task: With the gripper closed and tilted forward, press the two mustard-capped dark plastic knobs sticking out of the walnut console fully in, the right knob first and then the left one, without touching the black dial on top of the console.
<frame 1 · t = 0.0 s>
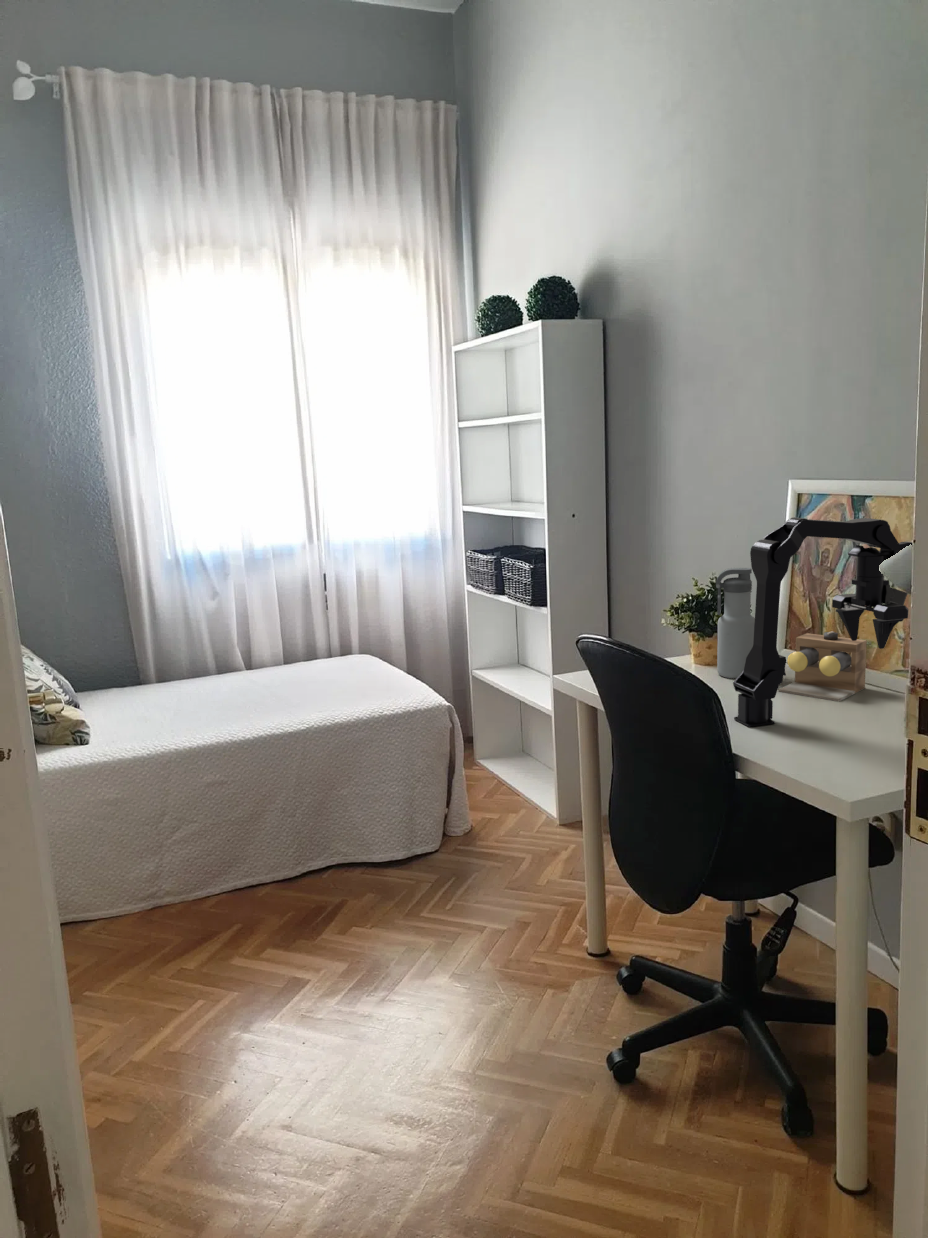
hand: (867, 644, 214), 15 cm above the table, fingers open, 9 cm apart
water bottle: (735, 675, 251), on the table
console: (829, 686, 236), on the table
knob right: (836, 663, 228), point 8 cm above the table, slide at 0.0 cm
knob left: (804, 658, 233), point 8 cm above the table, slide at 0.0 cm
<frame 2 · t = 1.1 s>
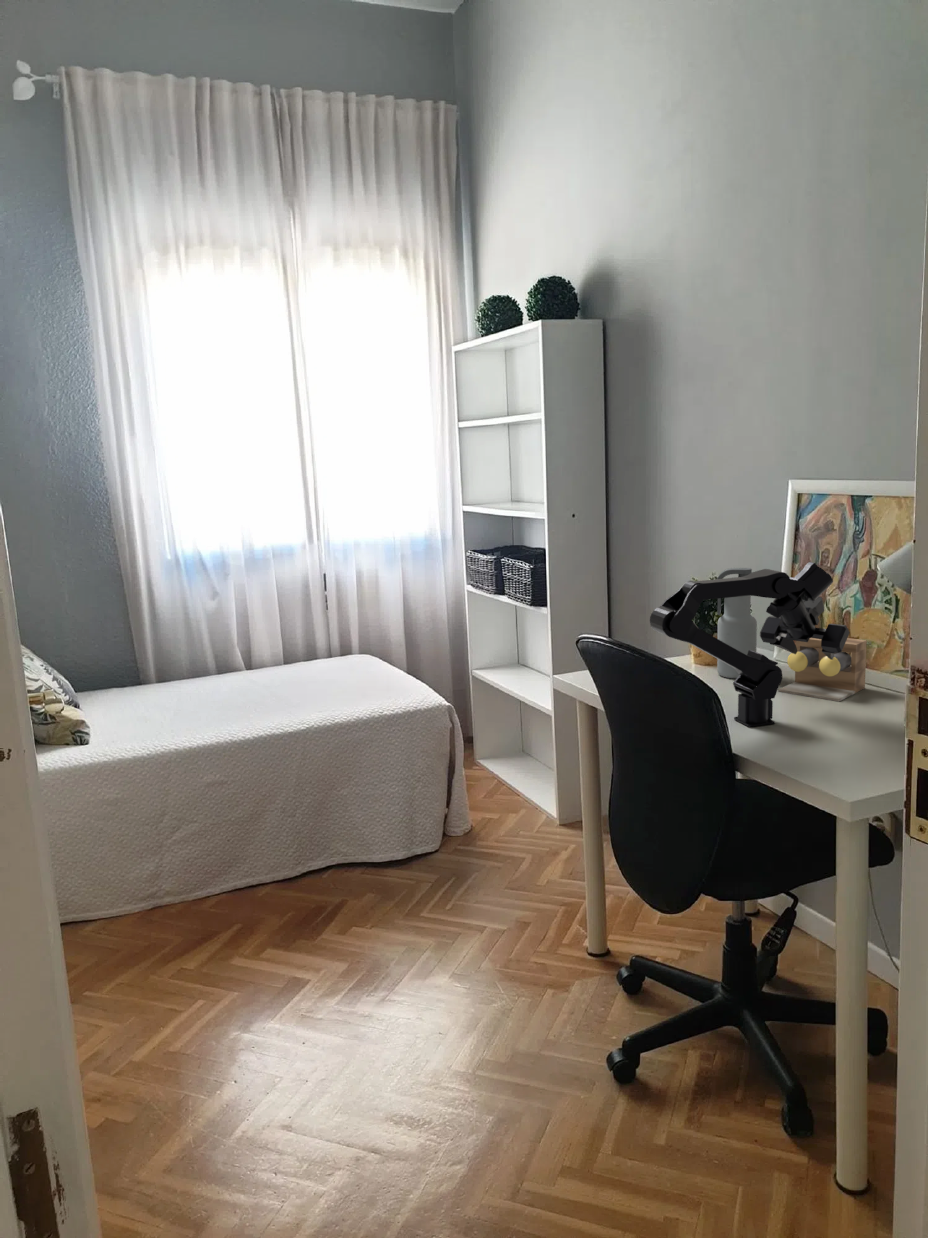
hand: (814, 655, 219), 12 cm above the table, fingers open, 8 cm apart
nothing on the table moved.
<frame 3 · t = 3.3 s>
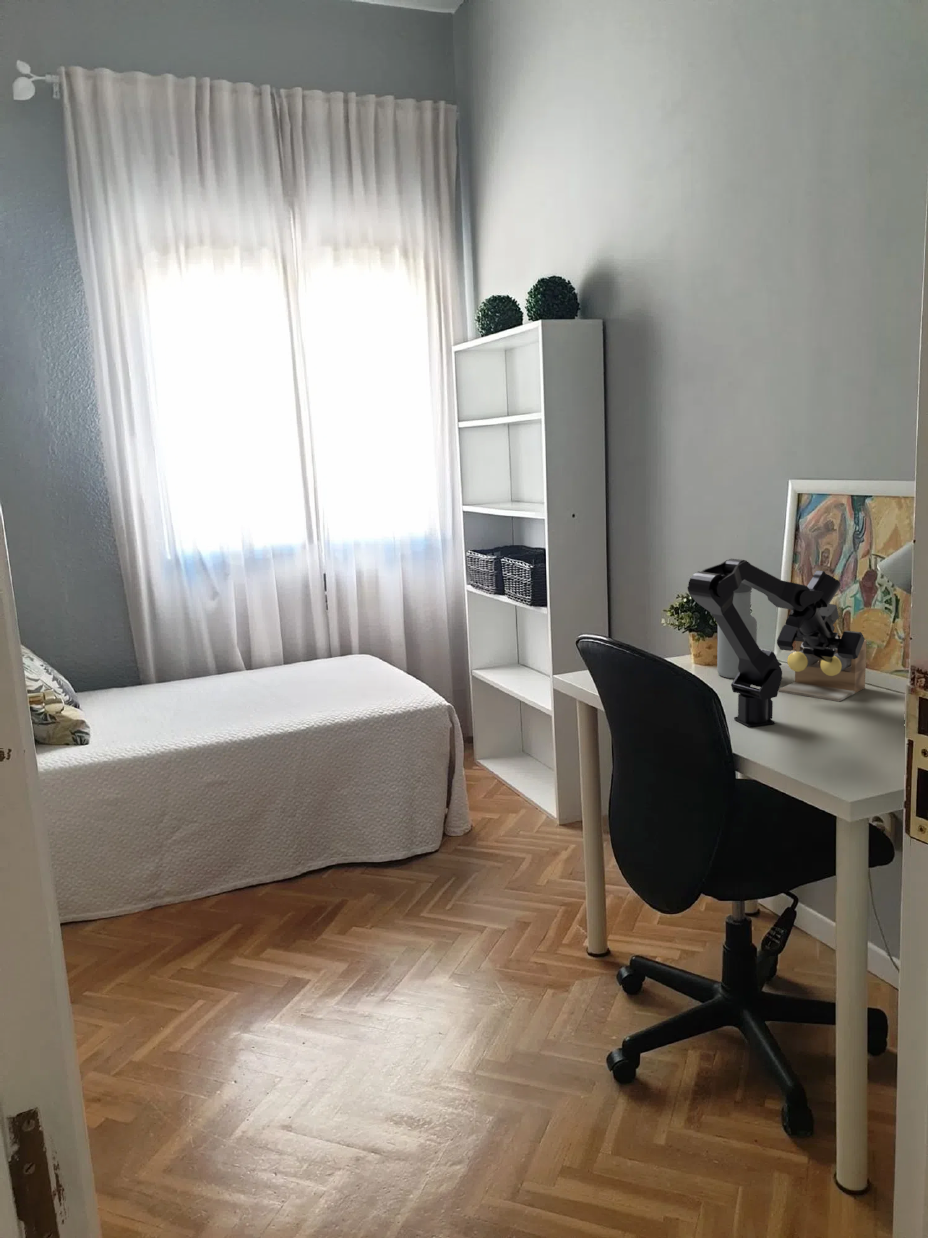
hand: (830, 660, 225), 9 cm above the table, fingers closed, pressing on knob right
knob right: (837, 662, 228), point 7 cm above the table, slide at 0.7 cm, touching gripper
everything else where it was.
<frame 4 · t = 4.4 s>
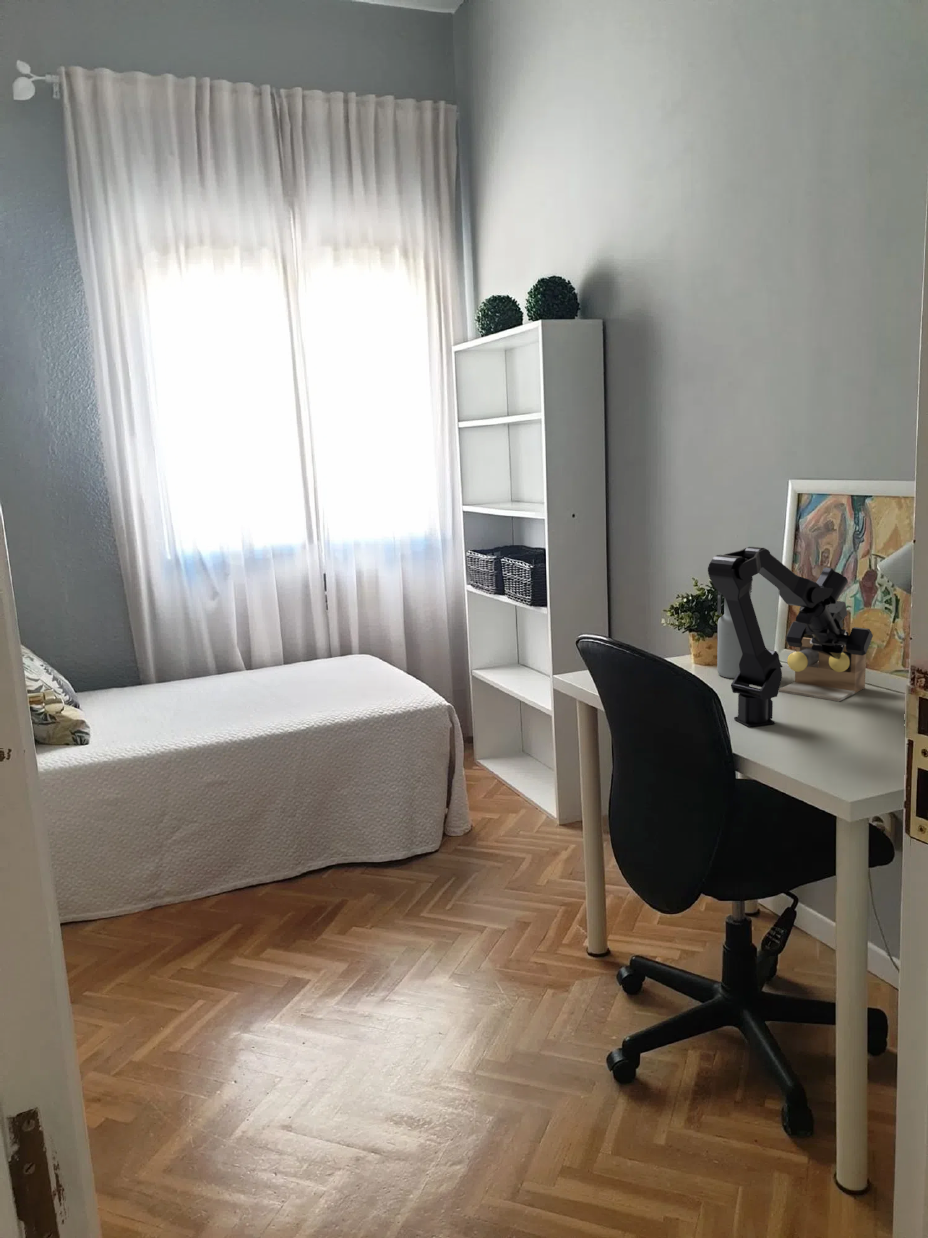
hand: (838, 657, 228), 9 cm above the table, fingers closed, pressing on knob right
knob right: (845, 659, 231), point 8 cm above the table, slide at 5.1 cm, touching gripper
everything else where it was.
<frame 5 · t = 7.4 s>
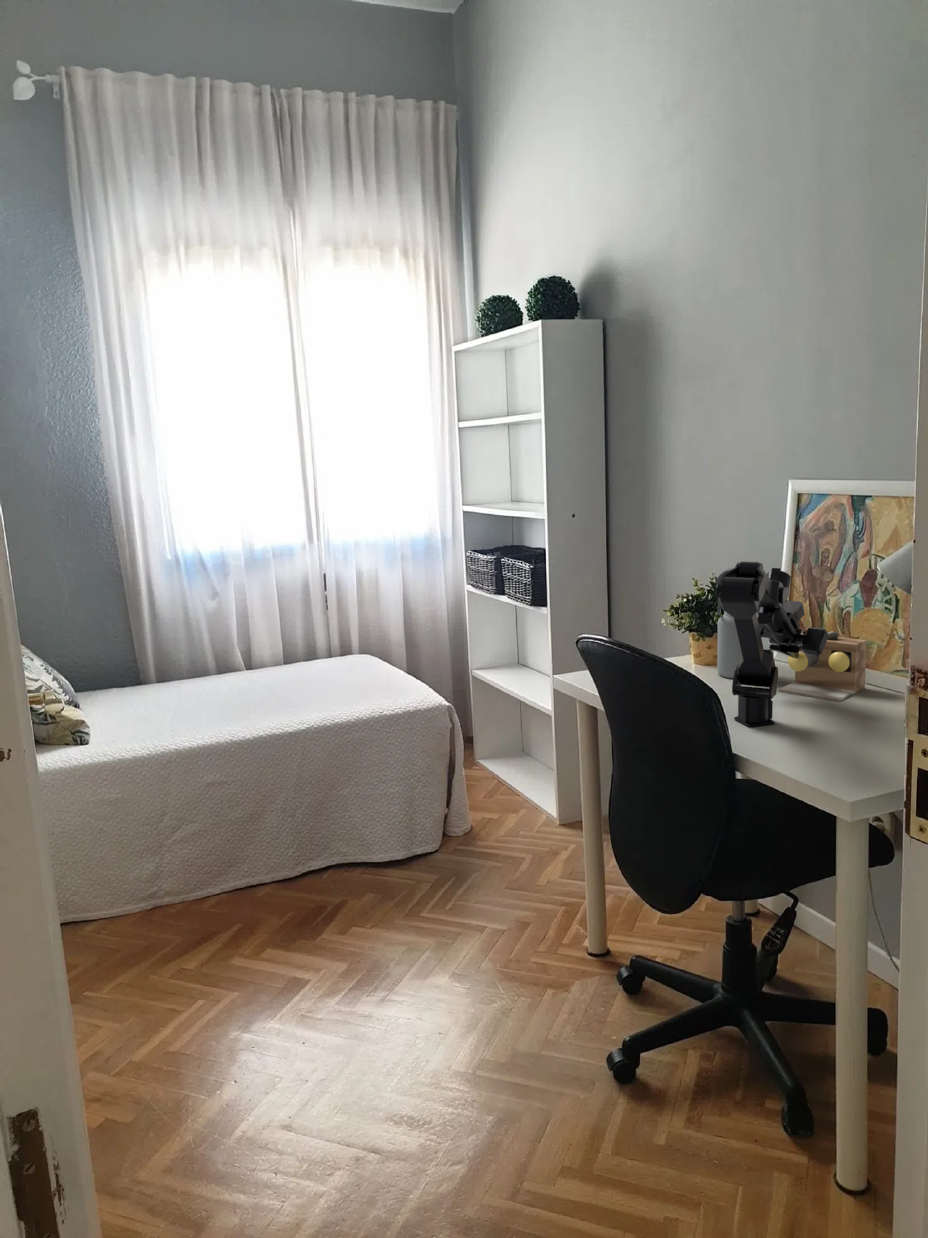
hand: (796, 656, 230), 9 cm above the table, fingers closed, pressing on knob left
knob right: (845, 659, 231), point 8 cm above the table, slide at 5.0 cm
knob left: (804, 658, 234), point 8 cm above the table, slide at 0.2 cm, touching gripper
everything else where it was.
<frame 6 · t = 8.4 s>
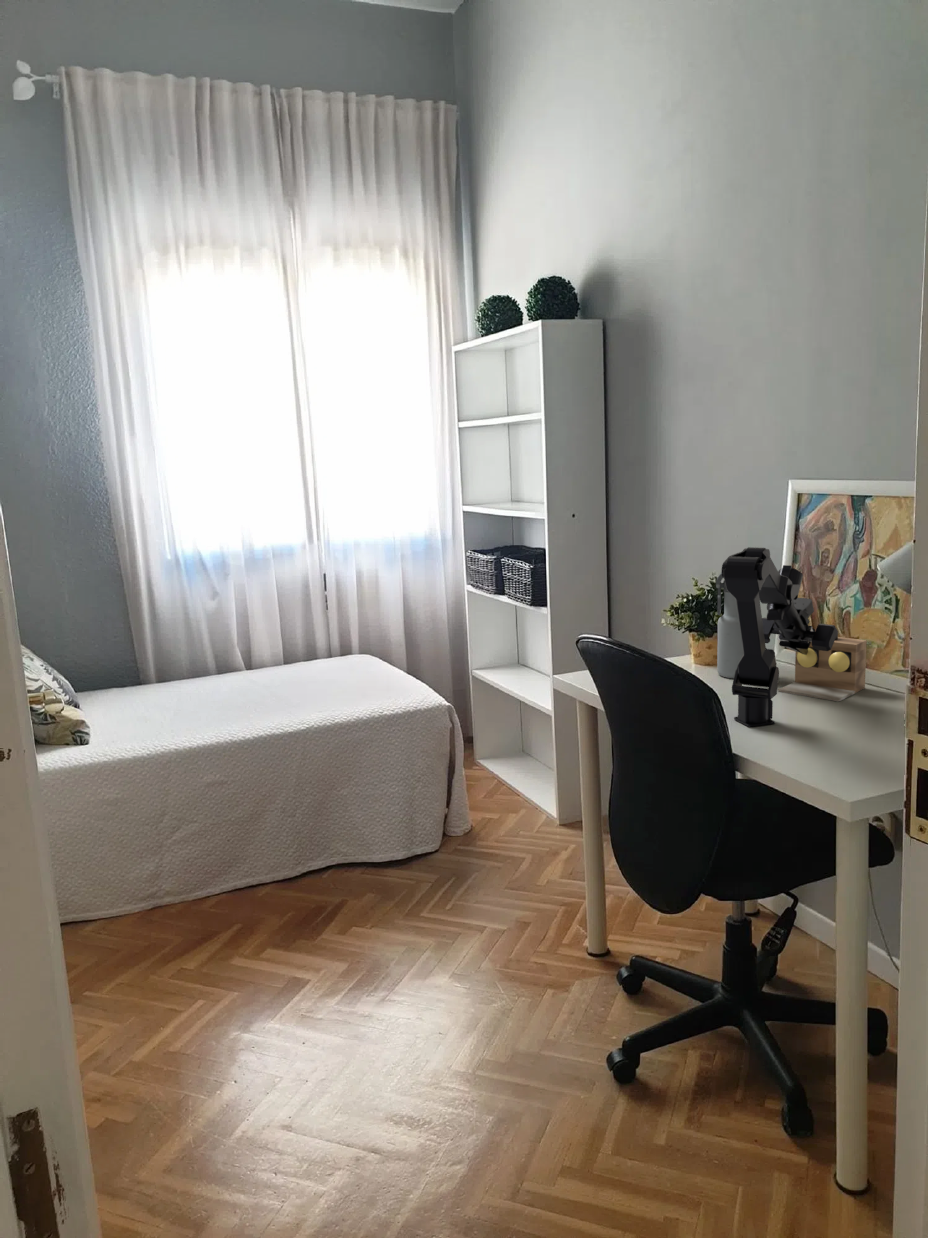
hand: (805, 653, 234), 9 cm above the table, fingers closed, pressing on knob left
knob left: (813, 654, 237), point 8 cm above the table, slide at 5.1 cm, touching gripper
everything else where it was.
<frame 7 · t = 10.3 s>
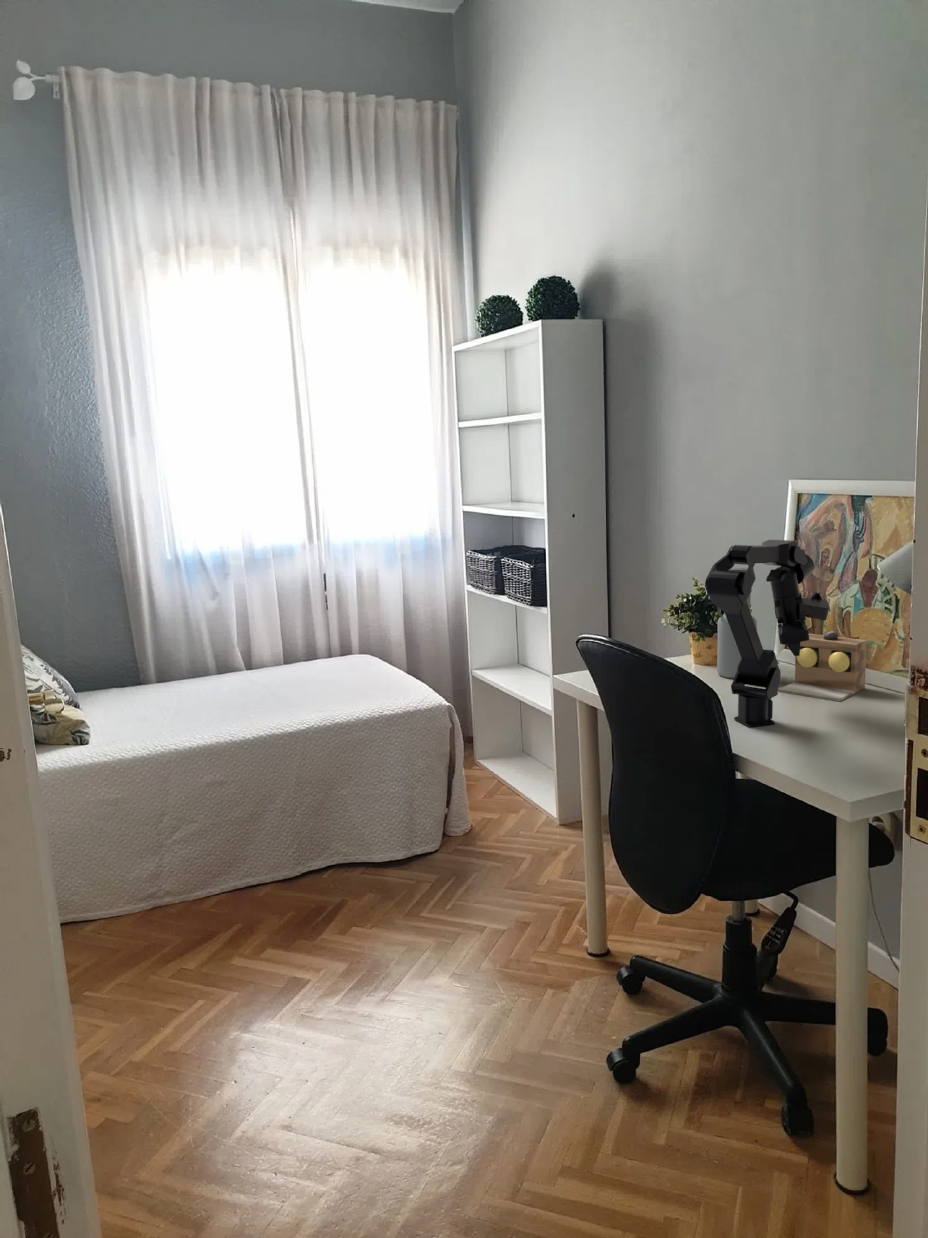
hand: (796, 655, 220), 12 cm above the table, fingers closed
knob left: (813, 654, 237), point 8 cm above the table, slide at 5.0 cm
everything else where it was.
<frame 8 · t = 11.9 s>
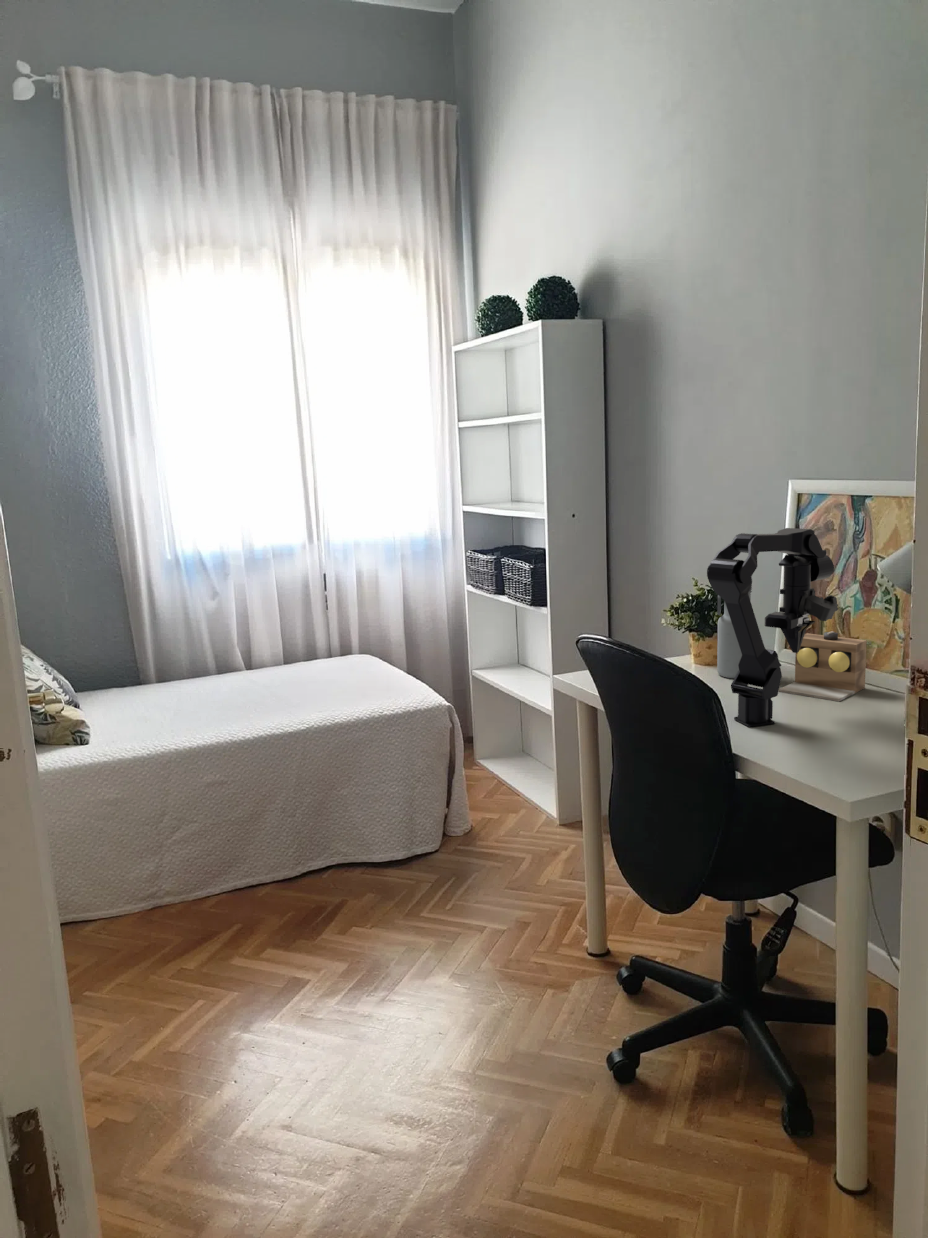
hand: (795, 652, 217), 13 cm above the table, fingers closed
nothing on the table moved.
at the end: knob right slide at 5.0 cm; knob left slide at 5.0 cm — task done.
